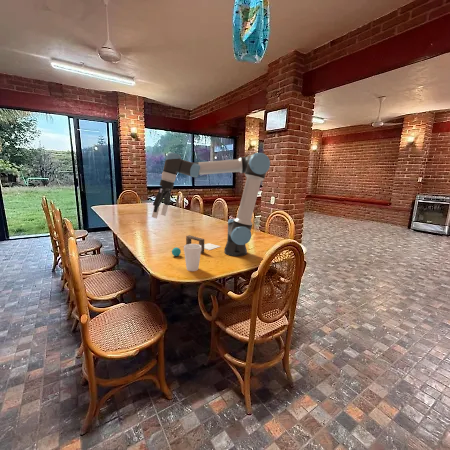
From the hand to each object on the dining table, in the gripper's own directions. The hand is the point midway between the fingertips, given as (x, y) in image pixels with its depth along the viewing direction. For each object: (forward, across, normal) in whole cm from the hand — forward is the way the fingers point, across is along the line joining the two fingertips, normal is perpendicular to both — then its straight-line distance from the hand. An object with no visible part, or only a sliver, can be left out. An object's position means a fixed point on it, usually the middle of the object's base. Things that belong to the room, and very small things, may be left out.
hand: (158, 216), depth 141 cm
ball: (+20, -10, +13) cm, 26 cm away
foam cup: (+21, +9, +28) cm, 36 cm away
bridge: (+20, -23, +22) cm, 38 cm away
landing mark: (+18, -35, +29) cm, 49 cm away
